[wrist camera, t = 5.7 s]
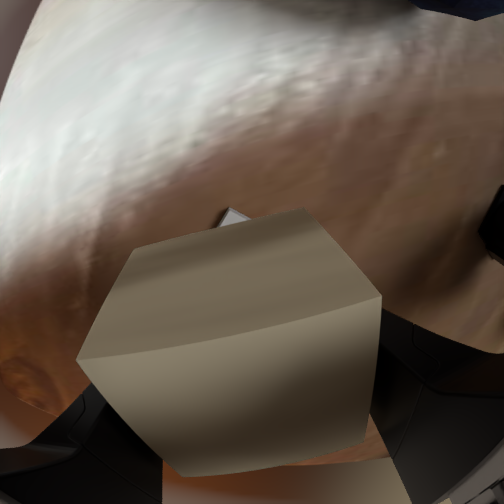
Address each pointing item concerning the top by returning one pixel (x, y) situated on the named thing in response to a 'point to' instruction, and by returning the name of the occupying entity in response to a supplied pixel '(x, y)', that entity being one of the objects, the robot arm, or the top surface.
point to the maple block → (239, 346)
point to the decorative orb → (463, 7)
